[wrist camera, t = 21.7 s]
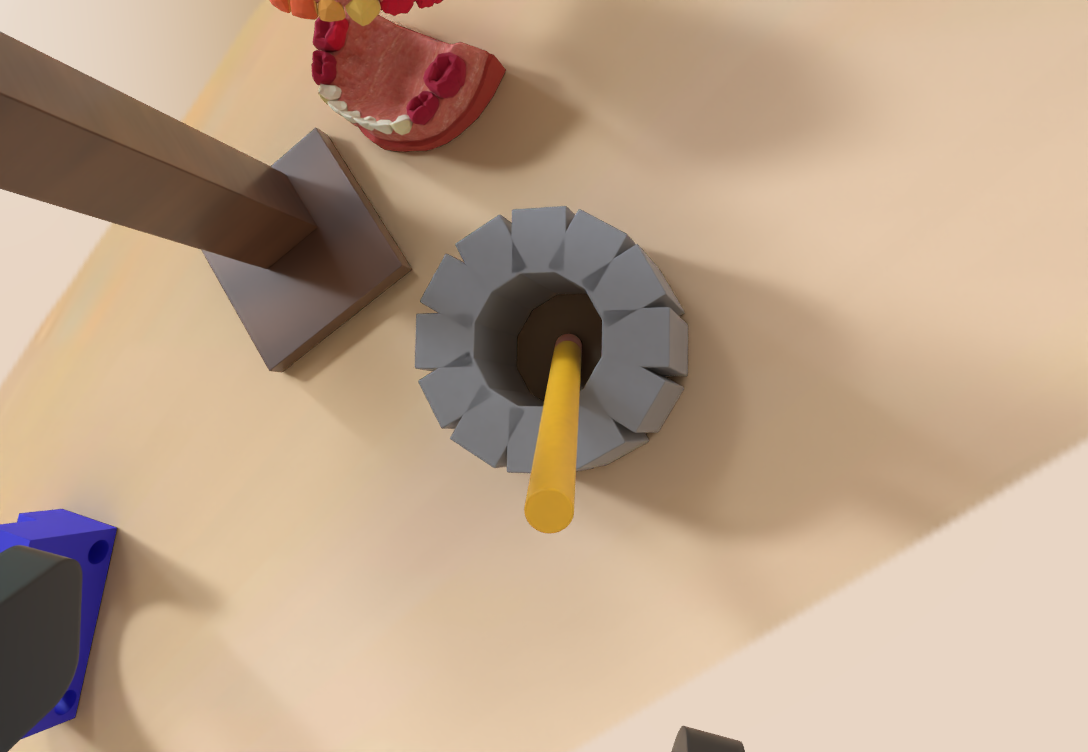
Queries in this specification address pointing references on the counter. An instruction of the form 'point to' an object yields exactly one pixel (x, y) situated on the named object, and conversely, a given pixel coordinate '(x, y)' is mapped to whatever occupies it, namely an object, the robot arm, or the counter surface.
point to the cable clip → (93, 553)
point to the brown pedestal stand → (201, 199)
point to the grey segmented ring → (501, 311)
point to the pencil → (557, 442)
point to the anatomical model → (395, 73)
